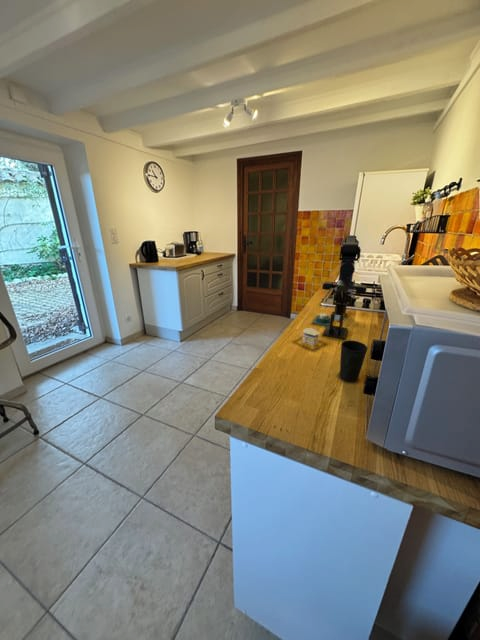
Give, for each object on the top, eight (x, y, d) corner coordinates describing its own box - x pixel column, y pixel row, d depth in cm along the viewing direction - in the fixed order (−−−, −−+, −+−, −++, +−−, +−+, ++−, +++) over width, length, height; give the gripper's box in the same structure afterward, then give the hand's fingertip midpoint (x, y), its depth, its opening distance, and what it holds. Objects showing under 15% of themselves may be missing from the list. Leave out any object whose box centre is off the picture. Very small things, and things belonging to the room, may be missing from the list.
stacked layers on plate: (325, 344, 108) (327, 332, 106) (312, 350, 102) (314, 338, 100) (306, 336, 115) (307, 325, 113) (293, 342, 110) (294, 330, 108)
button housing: (316, 318, 136) (317, 312, 135) (332, 320, 132) (333, 315, 131) (312, 324, 128) (312, 319, 126) (328, 327, 124) (329, 321, 123)
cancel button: (320, 316, 131) (320, 313, 130) (327, 317, 130) (327, 314, 129) (318, 318, 128) (319, 315, 128) (326, 319, 127) (326, 316, 126)
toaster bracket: (327, 327, 124) (330, 308, 121) (347, 330, 120) (350, 311, 117) (322, 336, 114) (324, 316, 111) (343, 340, 110) (346, 320, 107)
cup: (356, 371, 88) (362, 340, 84) (364, 384, 81) (371, 352, 77) (334, 370, 89) (338, 339, 85) (339, 383, 82) (345, 351, 78)
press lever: (335, 321, 125) (337, 314, 125) (342, 322, 124) (343, 315, 124) (332, 320, 114) (334, 313, 114) (340, 321, 112) (341, 314, 112)
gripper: (321, 273, 112) (317, 306, 118) (367, 277, 104) (361, 313, 110) (326, 269, 121) (322, 300, 127) (369, 272, 113) (363, 306, 119)
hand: (341, 305), depth 121 cm, fingers closed
